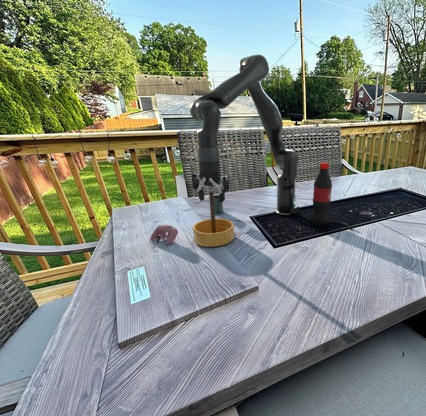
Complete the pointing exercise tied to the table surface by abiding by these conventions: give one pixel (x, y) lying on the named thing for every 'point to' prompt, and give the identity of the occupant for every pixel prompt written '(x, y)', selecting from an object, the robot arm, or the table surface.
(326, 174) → the cola bottle
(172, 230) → the video game controller
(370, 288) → the table surface
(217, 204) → the holder
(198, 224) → the bowl
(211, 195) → the stick
